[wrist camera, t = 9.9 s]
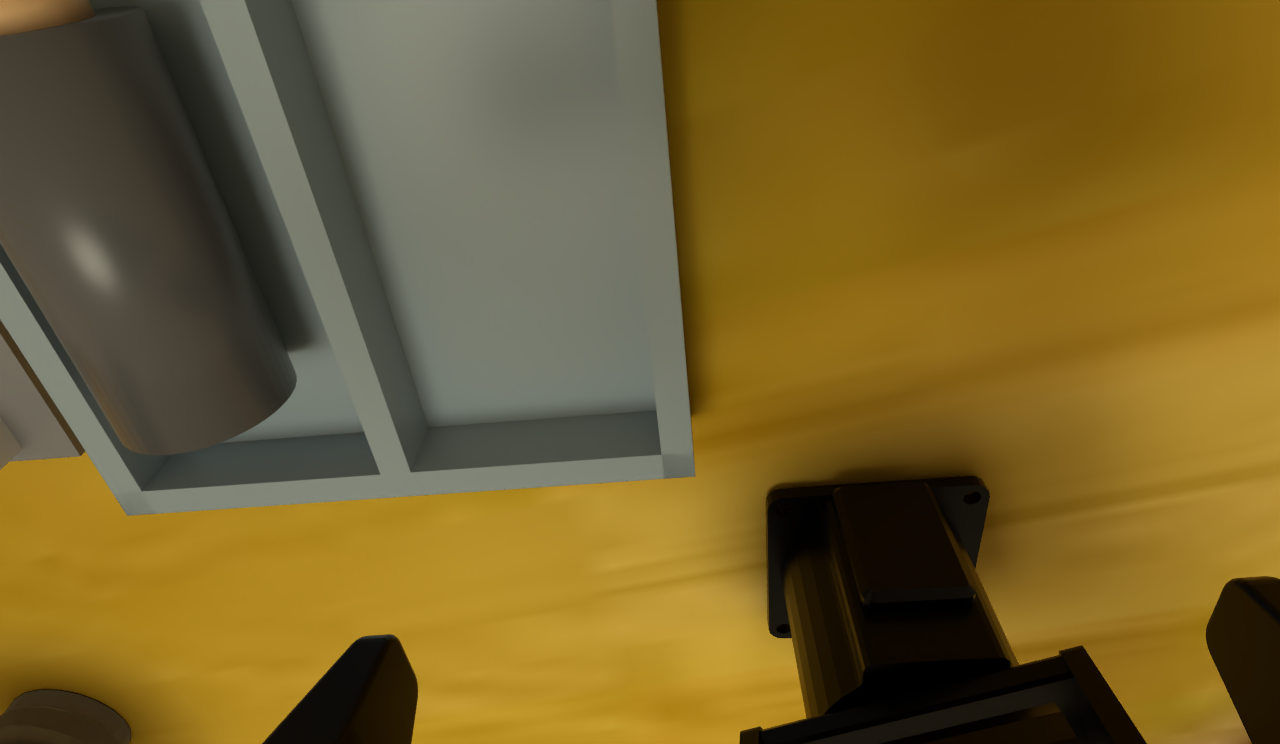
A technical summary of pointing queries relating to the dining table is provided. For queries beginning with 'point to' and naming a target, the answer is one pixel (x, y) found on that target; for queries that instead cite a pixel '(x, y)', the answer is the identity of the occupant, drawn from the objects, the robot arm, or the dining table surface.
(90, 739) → the beverage cup
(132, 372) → the battery cell
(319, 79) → the cell tray
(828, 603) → the robot arm
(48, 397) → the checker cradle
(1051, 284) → the dining table surface
